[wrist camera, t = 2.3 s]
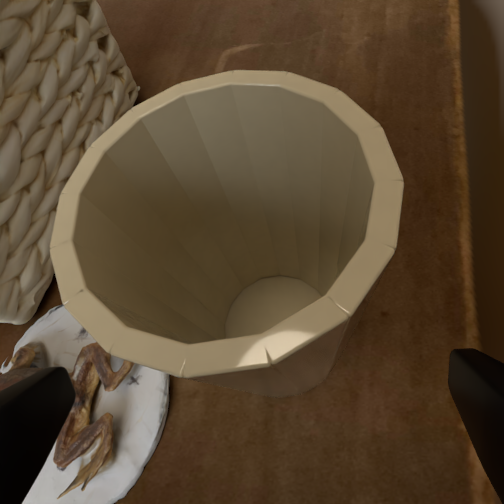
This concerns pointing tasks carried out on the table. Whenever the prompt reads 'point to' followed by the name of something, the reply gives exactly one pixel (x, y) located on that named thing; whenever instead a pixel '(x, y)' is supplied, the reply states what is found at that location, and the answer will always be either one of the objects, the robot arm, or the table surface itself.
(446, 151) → the table surface
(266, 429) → the table surface
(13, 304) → the basket
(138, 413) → the frog figurine
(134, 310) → the cup
